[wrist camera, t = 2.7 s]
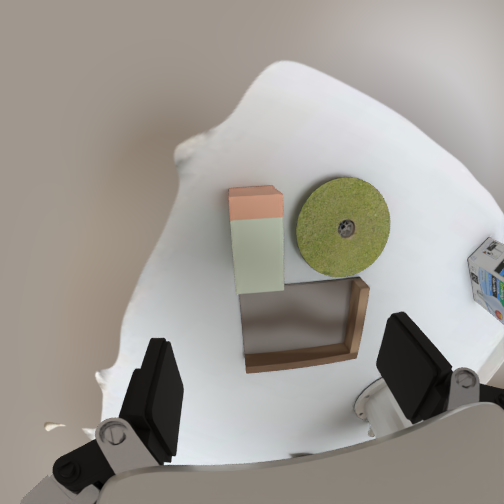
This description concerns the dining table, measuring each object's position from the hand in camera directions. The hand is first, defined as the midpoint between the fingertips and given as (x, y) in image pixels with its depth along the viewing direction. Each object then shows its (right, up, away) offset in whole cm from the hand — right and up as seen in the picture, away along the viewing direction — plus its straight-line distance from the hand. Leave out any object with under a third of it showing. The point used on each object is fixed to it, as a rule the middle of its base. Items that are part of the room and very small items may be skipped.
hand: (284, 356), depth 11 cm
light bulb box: (+38, +1, +24) cm, 45 cm away
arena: (+5, -4, +24) cm, 25 cm away
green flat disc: (+9, +7, +20) cm, 23 cm away
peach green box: (-1, +7, +19) cm, 20 cm away
